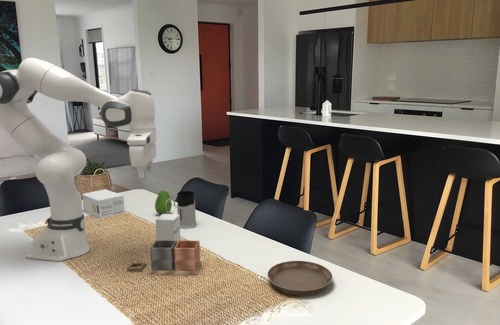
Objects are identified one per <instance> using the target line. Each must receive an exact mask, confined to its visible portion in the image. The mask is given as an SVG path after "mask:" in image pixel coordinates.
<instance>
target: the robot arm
mask: <svg viewBox="0 0 500 325" xmlns="http://www.w3.org/2000/svg"><path fill="white" fill-rule="evenodd" d="M38 93H40V94H41V95H44V97H45V96H46V97H48V98H49V99H53V100H56V101H60V102H81V103H88V104H90V105H93V106H95V107H98V108H99V109H100V116H101V120H102V121H103V123H104V124H105V125H107V126H108V127H110V128H116V129H117V128H121V127H125V126H128V127H129V134H128V137H127V139H126V142H127V143H126V144H127V145H128V153H129V154H128V155H129V161H130V165H131V168H136V171H137V174H138V179H144V178H145V176H146V175H145V171H146V173H151V172H152V171H153V163H154V159H155V158H156V157H157V154H158V153H157V144H156V142H157V126H156V123H155V119H156V118H155V117H156V108H155V106H156V105H155V100H154V96H153V94H152V93H151V92H150V91H147V90H144V89H136V88H135V89H134V88H133V89H130V90H129V91H128V92H127V93H125V94H123V95H122V96H117V95H115V94H112V93H111V92H108V91H105V90H103V89H101V88H99V87H96V86H94V85H92V84H90V83H88V82H87V81H85V80H83V79H81V78H79V77H77V76H76V75H75V74H72V73H71V72H70V71H67V70H66V69H64V68H61V67H60V66H58V65H56V64H53V63H51V62H49V61H46V60H44V59H40V58H36V57H27V58H25V59H23V60H22V61H21V62H20V64H19V66H18V68H17V69H7V70H3V71H0V125H1V127H2V129H4V131H5V132H6V133H7V134H8V135H9V136H10V138H12V139H13V140H14V141H15V142H16V143H17V144H18V145H19V146H20V147H21V149H22V150H24V151H25V152H26V153H28V154H30V155H32V156H35V157H37V158H39V159H40V160H39V161H38V163H36V164H35V169H34V170H35V171H34V173H35V177H36V178H37V180H38V181H39V182H40V183H41V184H42V185H43V187H44V188H45V191H46V193H47V196H48V202H49V209H50V216H49V217H48V218H47V219H46V220H44V225H47V226H46V227H45V228H44V229H43V230H42V231H41V232H39V233H38V234H37V235H36V236H35V237H34V239H33V240H32V246H31V248H30V249H29V250H27V251H26V253H25V254H26V256H25V258H26V259H31V260H32V259H34V260H42V261H44V260H46V261H51V262H52V261H53V262H62V261H65V260H68V259H71V258H77V257H81V256H83V255H85V254H87V253H88V252H89V251H90V250H91V246H90V244H89V241H88V238H87V234H86V230H85V229H86V221H85V220H86V219H85V214H84V213H83V212H84V210H83V199H82V195H81V193H80V191H79V190H78V189H77V187H76V184H75V179H74V178H75V177H76V176H78V175H80V174H81V173H82V172H83V170H84V169H85V167H86V165H87V156H86V155H85V153H84V152H83V151H82V150H80V149H78V148H76V147H73V146H71V145H70V144H69V143H68V142H66V141H65V140H63V139H62V138H60V137H58V136H57V135H56V134H54V132H53V131H51V130H50V129H49V128H48V127H47V126H46V125H45V124H44V123H43V122H42V121H41V119H39V118H38V117H37V116H36V115H35V114H34V113H33V112H32V111H31V109H30V108H29V107H28V104H31V103H32V102H33V101H34V98H35V96H36V95H37V94H38ZM145 165H146V168H145ZM144 168H145V171H144Z"/></svg>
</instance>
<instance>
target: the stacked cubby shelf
mask: <svg viewBox="0 0 500 325" xmlns="http://www.w3.org/2000/svg"><path fill="white" fill-rule="evenodd" d="M200 244H201V243H200V240H189V239H188V240H183V239H182V240H181V239H180V240H178V242H177V240H155V241H154V242H153V243H152V244H151V245H152V246H150V248H149V249H150V265H151V266H150V267H151V269H150V271H149V275H170V276H171V275H172V276H173V275H175V276H177V275H178V276H179V275H181V276H183V275H184V276H197V275H198V274H199V271H200V269H201V266H202V260H201V251H200V250H201V249H200V248H201V247H200V246H201V245H200Z"/></svg>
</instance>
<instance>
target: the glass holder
mask: <svg viewBox="0 0 500 325" xmlns="http://www.w3.org/2000/svg"><path fill="white" fill-rule="evenodd" d="M176 195H177V197H176V198H177V205H176V201H175V200H174V199H173V198H170V199H171V201H172V202H173V206H174V208H176V209H177V215H180V230H189V229H194V228H196V227H197V226H198V225H197V221H196V217H197V216H196V199H195V198H196V197H195V192H194V191H191V190H183V191H182V190H181V191H179V192H177V193H176ZM170 199H168V200H170ZM168 200H167V201H168ZM167 201H166V202H165V208H166V211H167V207H166V203H167ZM167 213H168V211H167ZM168 214H170V212H169V213H168Z"/></svg>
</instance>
